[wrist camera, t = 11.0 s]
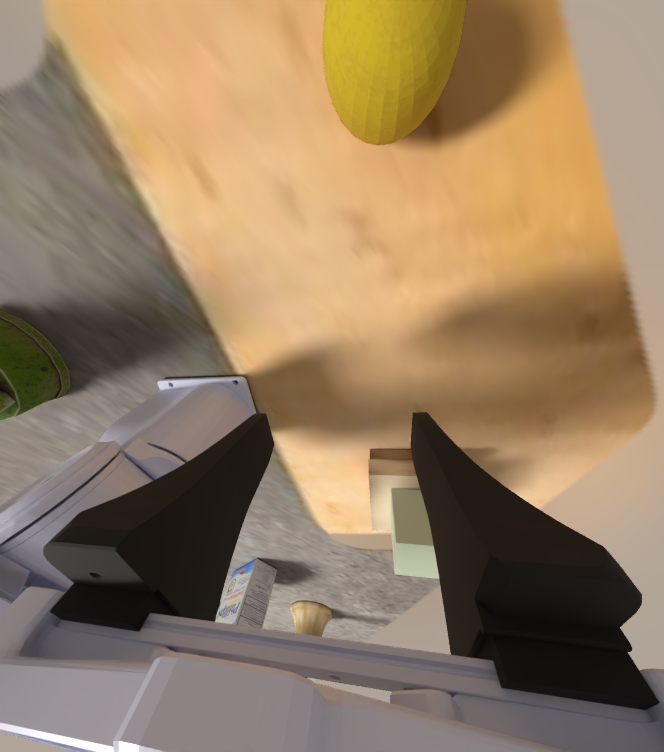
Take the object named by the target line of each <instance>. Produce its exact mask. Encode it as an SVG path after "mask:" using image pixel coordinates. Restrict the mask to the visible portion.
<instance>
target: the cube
mask: <svg viewBox="0 0 664 752" xmlns="http://www.w3.org/2000/svg"><path fill="white" fill-rule="evenodd" d="M390 522H391V534H392V545H393V559H394V572H395V574H398V575H407V576H417V577H427V578H437V579H439V573H438V568H437V562H436V556H435V550H434V545H433V539H432V534H431V528H430V523H429V519H428V515H427V511H426V508H425V504H424V501H423V497H422V493H421V490H414V489H393V488H391V512H390Z"/></svg>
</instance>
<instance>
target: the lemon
mask: <svg viewBox="0 0 664 752" xmlns="http://www.w3.org/2000/svg"><path fill="white" fill-rule="evenodd" d="M466 2H467V0H326V4H325V14H324V29H323V59H324V69H325V78H326V83H327V86H328V90H329V93H330V97H331V100H332V104H333V106H334V108H335V110H336V112H337V114H338V116H339V118H340V120H341V121H342V123H343V124H344V126H345V127H346V128H347V129H348V130H349V131H350V132H351V133H352V134H353V136H355V137H356V138H358V139H360V140H362V141H363V142H365V143H369V144H374V145H385V144H392V143H394V142H396V141H398V140H401V139H403V138H405V137H406V136H407V135H408V134H410V133H411V132H412V131H413V130H415V129H416V128H417V127H418V126H419V125H420V124H421V123H422V122H423V120H424V119H425V118H426V117H427V115H428V114H429V113H430V112H431V111H432V109H433V108H434V106H435V105H436V103H437V101H438V99H439V97H440V95H441V93H442V92H443V90H444V88H445V86H446V84H447V82H448V79H449V77H450V74H451V71H452V68H453V65H454V62H455V59H456V56H457V53H458V49H459V46H460V41H461V35H462V29H463V23H464V17H465V11H466Z"/></svg>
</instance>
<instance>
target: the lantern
mask: <svg viewBox="0 0 664 752" xmlns="http://www.w3.org/2000/svg"><path fill="white" fill-rule="evenodd" d="M70 386H71V385H70V376H69V370H68V369H67V367H66V365H65V363H64V361H63V359H62V357H61V355H60V353H59V352H58V351H57V350H56V349H55V348H54V347H53V346H52V344H51V343H50V342H49V341H48V340H47V339H46V338H45V337H44V335H42V334H41V333H40V332H38V331H37V330H36V329H34V328H33V327H32V326H30V325H29V324H28V323H26V322H25V321H24V320H22V319H20V318H18V317H16V316H13V315H11V314H9V313H6V312H4V311H2V310H0V420H2V421H4V420H7V419H10V418H13V417H15V416H17V415H20V414H22V413H24V412H26V411H28V410H30V409H32V408H34V407H36V406H38V405H40V404H42V403H44V402H48V401H51V400H54V399H57V398H60V397H62V396H65V395H66V393H67V391H68V390H69V388H70Z"/></svg>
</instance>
